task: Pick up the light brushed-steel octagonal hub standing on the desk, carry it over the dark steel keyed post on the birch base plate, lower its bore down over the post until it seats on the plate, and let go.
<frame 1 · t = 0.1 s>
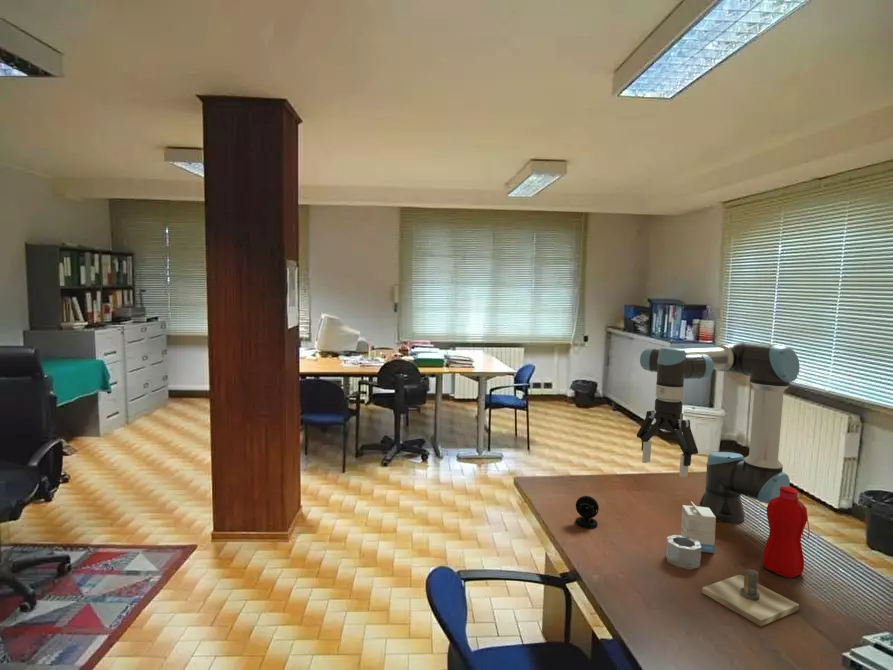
hand: (664, 468, 158), 28 cm above the table, fingers open, 13 cm apart
webcam: (586, 524, 183), on the table
water bottle: (785, 572, 154), on the table
ink box: (696, 546, 169), on the table
hub: (682, 561, 159), on the table
shaft block: (749, 601, 138), on the table
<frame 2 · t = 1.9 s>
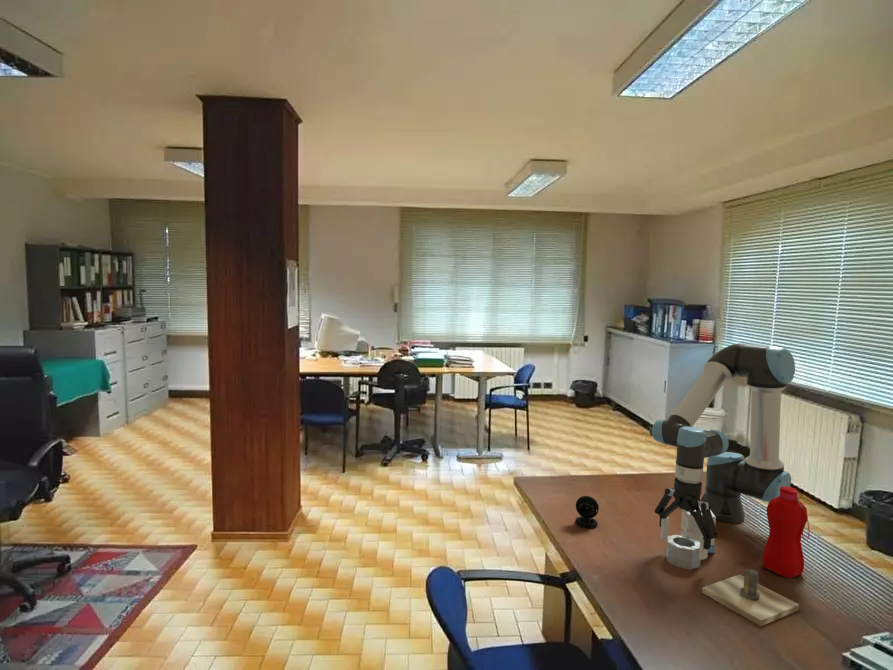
hand: (682, 548, 158), 4 cm above the table, fingers open, 13 cm apart
nothing on the table moved.
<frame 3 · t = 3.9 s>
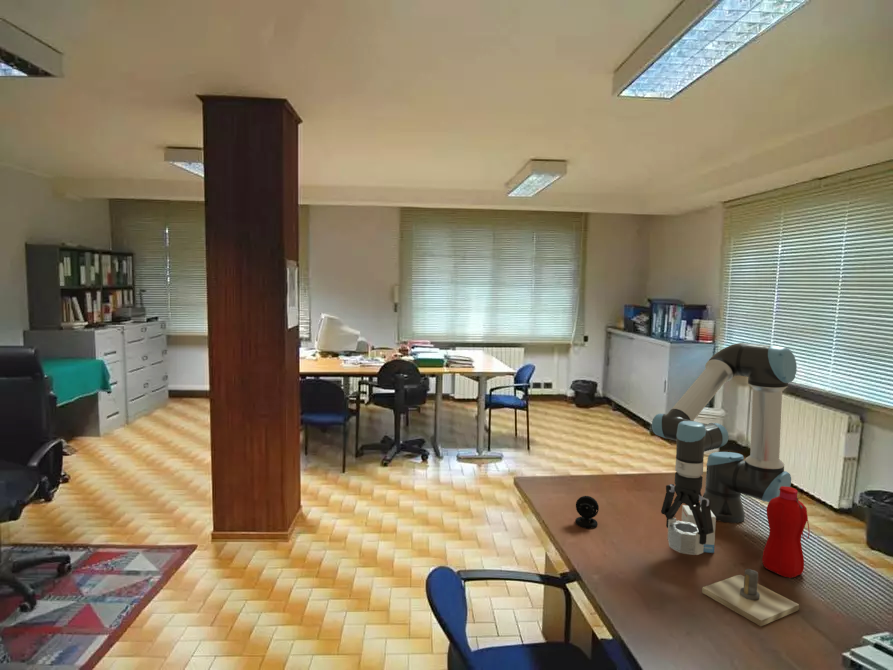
hand: (684, 545, 159), 5 cm above the table, fingers closed on hub, 9 cm apart
hub: (685, 546, 159), point 4 cm above the table, touching gripper
everything else where it was.
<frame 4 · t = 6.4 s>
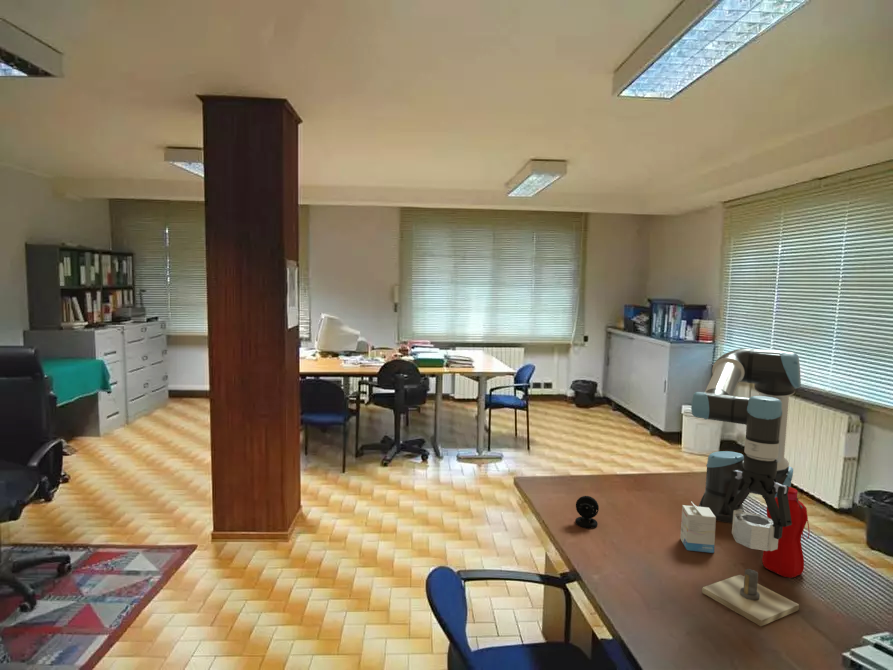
hand: (753, 541, 137), 16 cm above the table, fingers closed on hub, 9 cm apart
hub: (753, 542, 137), point 16 cm above the table, touching gripper
everything else where it was.
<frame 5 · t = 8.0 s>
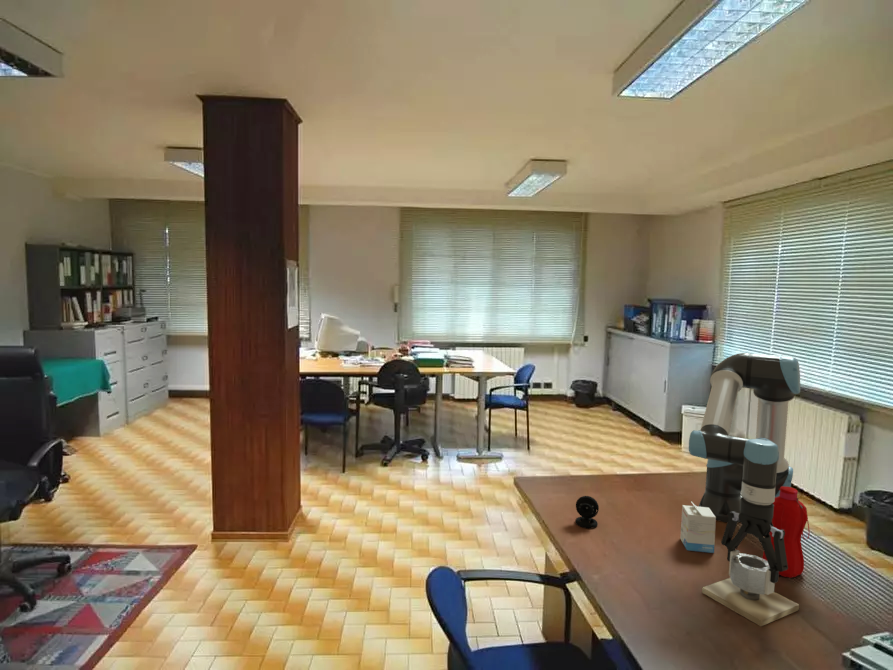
hand: (750, 583, 138), 5 cm above the table, fingers closed on hub, 9 cm apart
hub: (750, 584, 138), point 5 cm above the table, touching gripper
everything else where it was.
when the fingers open (2 cm above the table, at t = 9.1 s): hub stays where it is, resting on shaft block.
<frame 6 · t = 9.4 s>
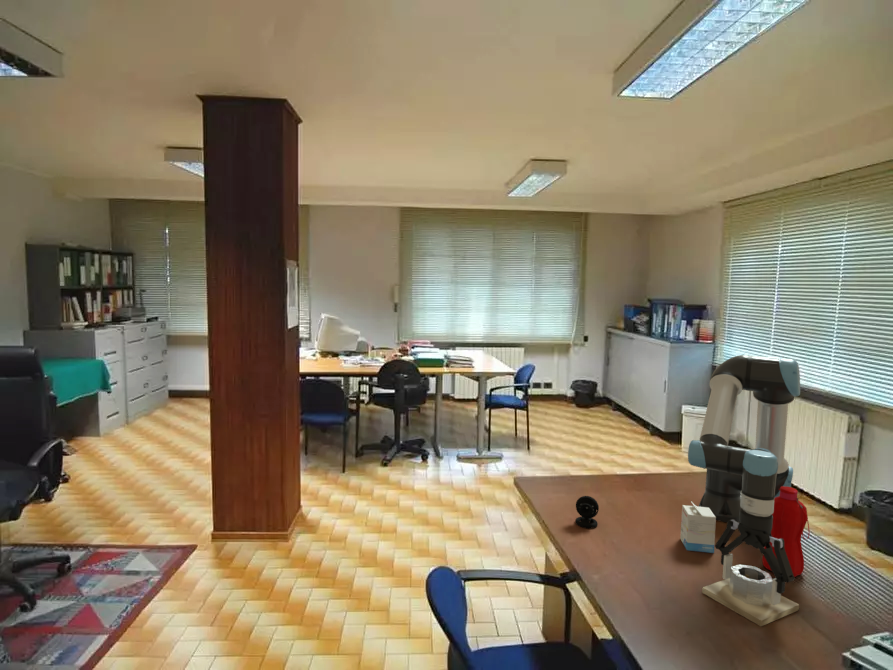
hand: (750, 590, 138), 3 cm above the table, fingers open, 12 cm apart
hub: (749, 595, 138), point 1 cm above the table, touching shaft block
everything else where it was.
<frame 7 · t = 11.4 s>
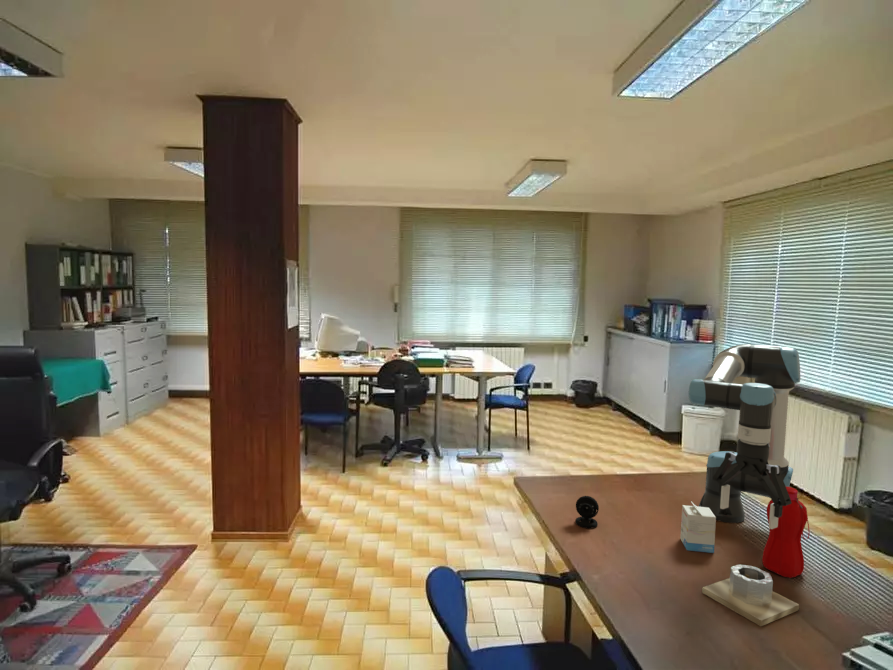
hand: (747, 517, 143), 20 cm above the table, fingers open, 13 cm apart
nothing on the table moved.
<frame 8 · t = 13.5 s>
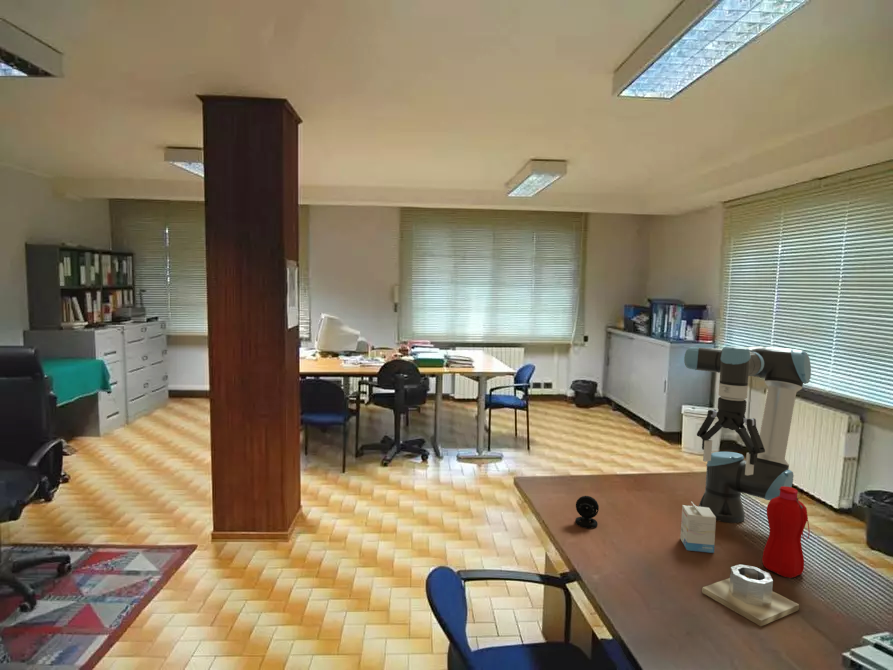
hand: (727, 467, 159), 29 cm above the table, fingers open, 13 cm apart
nothing on the table moved.
at the end: hub 0.1 cm from the shaft block (horizontally); hub point 1.5 cm above the table; the gripper is holding nothing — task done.
